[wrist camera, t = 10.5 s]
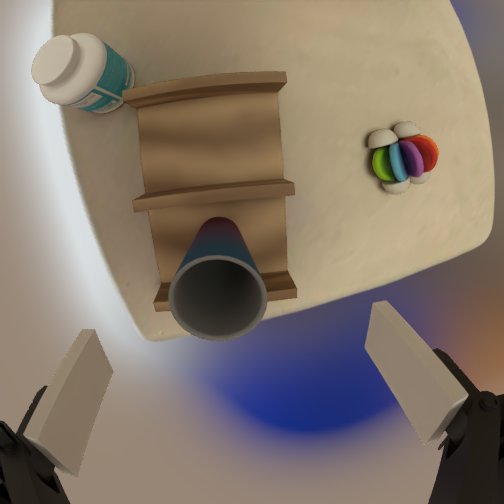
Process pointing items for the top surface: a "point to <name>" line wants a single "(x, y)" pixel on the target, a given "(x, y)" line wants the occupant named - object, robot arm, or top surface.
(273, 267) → the rack
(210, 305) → the cup
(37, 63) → the pill bottle
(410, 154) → the rainbow disc stack
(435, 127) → the top surface
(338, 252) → the top surface
